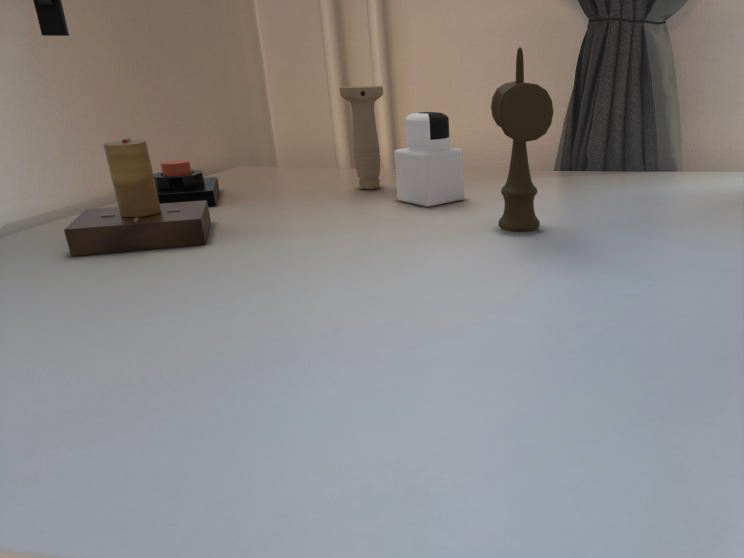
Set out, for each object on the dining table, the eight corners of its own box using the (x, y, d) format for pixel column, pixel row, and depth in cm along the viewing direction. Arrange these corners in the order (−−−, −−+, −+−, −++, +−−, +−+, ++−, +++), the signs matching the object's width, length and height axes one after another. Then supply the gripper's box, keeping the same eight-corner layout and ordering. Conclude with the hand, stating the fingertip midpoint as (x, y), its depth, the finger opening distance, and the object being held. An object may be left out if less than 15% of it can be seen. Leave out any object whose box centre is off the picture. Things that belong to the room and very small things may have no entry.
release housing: (140, 211, 95) (134, 182, 93) (152, 195, 106) (146, 169, 104) (215, 205, 98) (210, 177, 96) (219, 190, 108) (215, 165, 106)
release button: (161, 179, 98) (158, 164, 97) (164, 174, 101) (161, 160, 100) (191, 177, 99) (188, 162, 98) (193, 173, 102) (190, 159, 101)
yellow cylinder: (158, 215, 78) (142, 140, 75) (117, 218, 77) (98, 143, 74) (163, 207, 82) (148, 136, 79) (123, 210, 81) (106, 138, 78)
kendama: (499, 241, 77) (498, 47, 69) (489, 221, 86) (487, 47, 77) (551, 238, 77) (556, 46, 69) (536, 219, 86) (539, 46, 78)
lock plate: (71, 256, 74) (63, 228, 73) (92, 233, 84) (85, 207, 83) (205, 244, 78) (200, 217, 77) (211, 223, 88) (206, 198, 86)
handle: (348, 186, 109) (338, 86, 103) (388, 184, 111) (380, 85, 104) (350, 192, 105) (340, 88, 99) (391, 189, 106) (384, 86, 100)
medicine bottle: (434, 193, 103) (430, 109, 98) (465, 199, 98) (463, 112, 93) (396, 200, 99) (390, 113, 94) (427, 207, 94) (422, 116, 89)
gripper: (21, -219, 70) (78, 34, 80) (52, -182, 81) (98, 36, 91) (-64, -227, 68) (5, 34, 78) (-21, -188, 79) (35, 36, 89)
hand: (55, 35), depth 84 cm, fingers closed
